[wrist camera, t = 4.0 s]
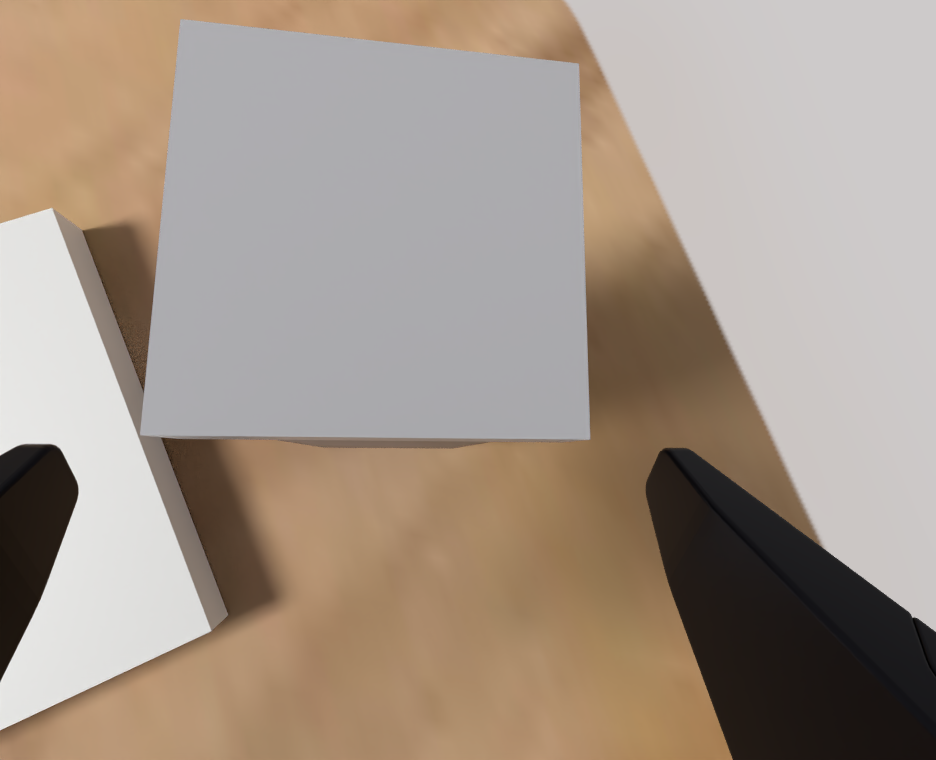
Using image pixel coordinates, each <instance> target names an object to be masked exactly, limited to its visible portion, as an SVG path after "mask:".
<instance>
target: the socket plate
mask: <svg viewBox="0 0 936 760" xmlns="http://www.w3.org/2000/svg"><path fill="white" fill-rule="evenodd" d="M143 399H144V392H143V389H142V387H141V384H140V382H139V379H138V376H137V374H136V371H135V368H134V366H133V363H132V361H131V358H130V355H129V353H128V350H127V347H126V345H125V342H124V340H123V337H122V334H121V332H120V329H119V326H118V324H117V321H116V319H115V316H114V313H113V311H112V308H111V305H110V303H109V300H108V298H107V295H106V292H105V290H104V287H103V284H102V282H101V279H100V276H99V274H98V271H97V269H96V266H95V263H94V261H93V258H92V255H91V253H90V250H89V248H88V245H87V242H86V240H85V237H84V234H83V232H82V230H81V229H80V228H79V227H77V226H76V225H75V224H73V223H72V222H70V221H69V220H68V219H66V218H65V217H64V216H62V215H61V214H60V213H58V212H57V211H55V210H54V209H53V208H50V209H47V210H44V211H40V212H37V213H34V214H30V215H27V216H24V217H20V218H17V219H14V220H11V221H7V222H4V223H1V224H0V455H2V454H3V453H5V452H7V451H9V450H10V449H12V448H14V447H16V446H18V445H21V444H53V445H56V446H57V447H59V448H60V449H61V451H62V452H63V454H64V456H65V458H66V460H67V462H68V464H69V466H70V468H71V470H72V472H73V474H74V476H75V478H76V480H77V483H78V488H79V494H78V499H77V503H76V505H75V508H74V511H73V514H72V516H71V519H70V522H69V525H68V527H67V530H66V533H65V536H64V538H63V541H62V544H61V546H60V549H59V552H58V555H57V557H56V560H55V563H54V566H53V568H52V571H51V574H50V577H49V579H48V582H47V585H46V587H45V590H44V592H43V595H42V597H41V600H40V602H39V604H38V606H37V608H36V610H35V613H34V615H33V617H32V619H31V621H30V623H29V625H28V627H27V629H26V631H25V633H24V635H23V637H22V639H21V641H20V643H19V645H18V647H17V649H16V651H15V653H14V655H13V657H12V659H11V661H10V663H9V665H8V667H7V669H6V671H5V673H4V675H3V677H2V680H1V682H0V730H2V729H4V728H6V727H8V726H10V725H13V724H15V723H17V722H19V721H21V720H23V719H25V718H27V717H30V716H32V715H34V714H36V713H38V712H40V711H42V710H44V709H47V708H49V707H51V706H53V705H55V704H57V703H59V702H62V701H64V700H66V699H68V698H70V697H72V696H74V695H76V694H79V693H81V692H83V691H85V690H87V689H89V688H91V687H93V686H96V685H98V684H100V683H102V682H104V681H106V680H108V679H111V678H113V677H115V676H117V675H119V674H121V673H123V672H125V671H128V670H130V669H132V668H134V667H136V666H138V665H140V664H142V663H145V662H147V661H149V660H151V659H153V658H155V657H157V656H159V655H162V654H164V653H166V652H168V651H170V650H172V649H174V648H177V647H179V646H181V645H183V644H185V643H187V642H189V641H191V640H194V639H196V638H198V637H200V636H202V635H204V634H206V633H208V632H211V631H212V630H213V629H214V628H215V627H216V626H217V625H218V624H220V623H221V622H222V621H223V620H224V619H225V618H226V617H227V616H228V613H227V610H226V607H225V605H224V602H223V600H222V597H221V594H220V592H219V589H218V586H217V584H216V581H215V579H214V576H213V573H212V571H211V568H210V565H209V563H208V560H207V558H206V555H205V552H204V550H203V547H202V544H201V542H200V539H199V537H198V534H197V531H196V529H195V526H194V523H193V521H192V518H191V516H190V513H189V510H188V508H187V505H186V502H185V500H184V497H183V495H182V492H181V489H180V487H179V484H178V481H177V479H176V476H175V474H174V471H173V468H172V466H171V463H170V460H169V458H168V455H167V453H166V450H165V447H164V445H163V442H162V439H161V437H153V436H142V435H140V430H141V419H142V409H143Z"/></svg>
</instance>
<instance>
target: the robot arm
mask: <svg viewBox="0 0 936 760" xmlns="http://www.w3.org/2000/svg"><path fill="white" fill-rule="evenodd" d="M78 494H79V488H78V483H77V480H76V478H75V476H74V474H73V472H72V470H71V468H70V466H69V464H68V462H67V460H66V458H65V456H64V454H63V452H62V451H61V449H60V448H59V447H57V446H56V445H53V444H21V445H18V446H16V447H14V448H12V449H10V450H9V451H7V452H5V453H3V454H2V455H0V682H1V680H2V677H3V675H4V673H5V671H6V669H7V667H8V665H9V663H10V661H11V659H12V657H13V655H14V653H15V651H16V649H17V647H18V645H19V643H20V641H21V639H22V637H23V635H24V633H25V631H26V629H27V627H28V625H29V623H30V621H31V619H32V617H33V615H34V613H35V610H36V608H37V606H38V604H39V602H40V600H41V597H42V595H43V592H44V590H45V587H46V585H47V582H48V579H49V577H50V574H51V571H52V568H53V566H54V563H55V560H56V557H57V555H58V552H59V549H60V546H61V544H62V541H63V538H64V536H65V533H66V530H67V527H68V525H69V522H70V519H71V516H72V514H73V511H74V508H75V505H76V503H77V499H78ZM646 497H647V501H648V505H649V509H650V513H651V517H652V521H653V525H654V529H655V533H656V537H657V541H658V545H659V549H660V553H661V557H662V561H663V565H664V569H665V573H666V576H667V580H668V583H669V586H670V589H671V592H672V595H673V598H674V600H675V603H676V606H677V609H678V611H679V614H680V617H681V619H682V622H683V625H684V628H685V630H686V633H687V636H688V639H689V641H690V644H691V647H692V650H693V652H694V655H695V658H696V660H697V663H698V666H699V669H700V671H701V674H702V677H703V680H704V682H705V685H706V688H707V690H708V693H709V696H710V699H711V701H712V704H713V707H714V710H715V712H716V715H717V718H718V720H719V723H720V726H721V729H722V731H723V734H724V737H725V740H726V742H727V745H728V748H729V751H730V753H731V756H732V759H733V760H936V632H935V631H934V630H932V629H931V628H930V627H928V626H927V625H926V624H924V623H923V622H922V621H920V620H919V619H917V618H912V616H911V614H910V613H909V612H908V611H906V610H905V609H904V608H903V607H901V606H900V605H898V604H897V603H896V602H894V601H893V600H892V599H890V598H889V597H887V596H886V595H885V594H884V593H882V592H881V591H880V590H878V589H877V588H876V587H874V586H873V585H872V584H870V583H869V582H867V581H866V580H865V579H864V578H862V577H861V576H859V575H858V574H857V573H856V572H854V571H853V570H851V569H850V568H849V567H847V566H846V565H845V564H843V563H842V562H841V561H839V560H838V559H837V558H835V557H834V556H833V555H831V554H830V553H829V552H827V551H826V550H825V549H823V548H822V547H821V546H819V545H818V544H817V543H815V542H814V541H813V540H811V539H810V538H808V537H807V536H806V535H804V534H803V533H802V532H800V531H799V530H798V529H796V528H795V527H794V526H792V525H791V524H790V523H788V522H787V521H786V520H784V519H783V518H782V517H780V516H779V515H778V514H776V513H775V512H774V511H772V510H771V509H769V508H768V507H767V506H765V505H764V504H763V503H761V502H760V501H759V500H757V499H756V498H755V497H753V496H752V495H751V494H749V493H748V492H747V491H745V490H744V489H743V488H741V487H740V486H739V485H737V484H736V483H735V482H733V481H732V480H731V479H729V478H728V477H726V476H725V475H724V474H722V473H721V472H720V471H718V470H717V469H716V468H714V467H713V466H712V465H710V464H709V463H708V462H706V461H705V460H704V459H702V458H701V457H700V456H698V455H697V454H696V453H694V452H693V451H691V450H690V449H687V448H665V449H663V450H662V451H660V453H659V455H658V457H657V459H656V461H655V464H654V466H653V468H652V470H651V473H650V475H649V477H648V479H647V482H646Z"/></svg>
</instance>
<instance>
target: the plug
mask: <svg viewBox="0 0 936 760" xmlns="http://www.w3.org/2000/svg"><path fill="white" fill-rule="evenodd" d="M140 435H142V436H153V437H164V438H175V439H246V440H280V441H286V442H293V443H299V444H305V445H311V446H318V447H333V448H458V447H463V446H469V445H475V444H480V443H486V442H571V441H582V440H590V414H589V381H588V349H587V316H586V283H585V250H584V217H583V184H582V152H581V119H580V86H579V64H578V63H569V62H560V61H551V60H542V59H533V58H524V57H515V56H506V55H497V54H488V53H479V52H470V51H461V50H452V49H443V48H434V47H425V46H417V45H408V44H399V43H390V42H381V41H372V40H363V39H354V38H345V37H336V36H327V35H318V34H309V33H300V32H291V31H282V30H273V29H264V28H255V27H246V26H237V25H228V24H220V23H211V22H202V21H193V20H184V19H181V20H180V30H179V40H178V50H177V61H176V71H175V81H174V91H173V102H172V112H171V122H170V132H169V143H168V153H167V163H166V173H165V184H164V194H163V204H162V214H161V225H160V235H159V245H158V255H157V266H156V276H155V286H154V296H153V307H152V317H151V327H150V337H149V348H148V358H147V368H146V378H145V389H144V399H143V409H142V419H141V430H140Z"/></svg>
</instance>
